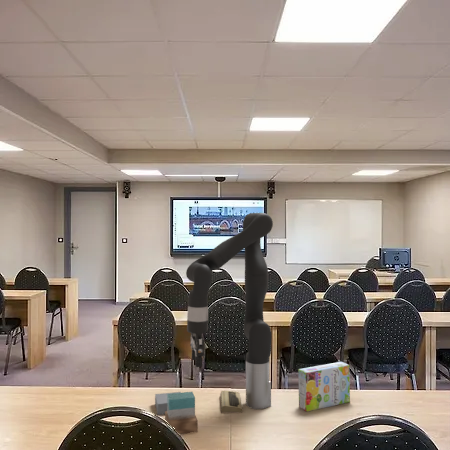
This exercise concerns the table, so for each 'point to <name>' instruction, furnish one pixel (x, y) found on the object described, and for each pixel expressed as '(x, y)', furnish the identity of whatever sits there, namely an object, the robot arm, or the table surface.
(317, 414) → the table surface
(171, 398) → the housing
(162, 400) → the stand
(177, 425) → the stand
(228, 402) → the computer
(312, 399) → the snack box
